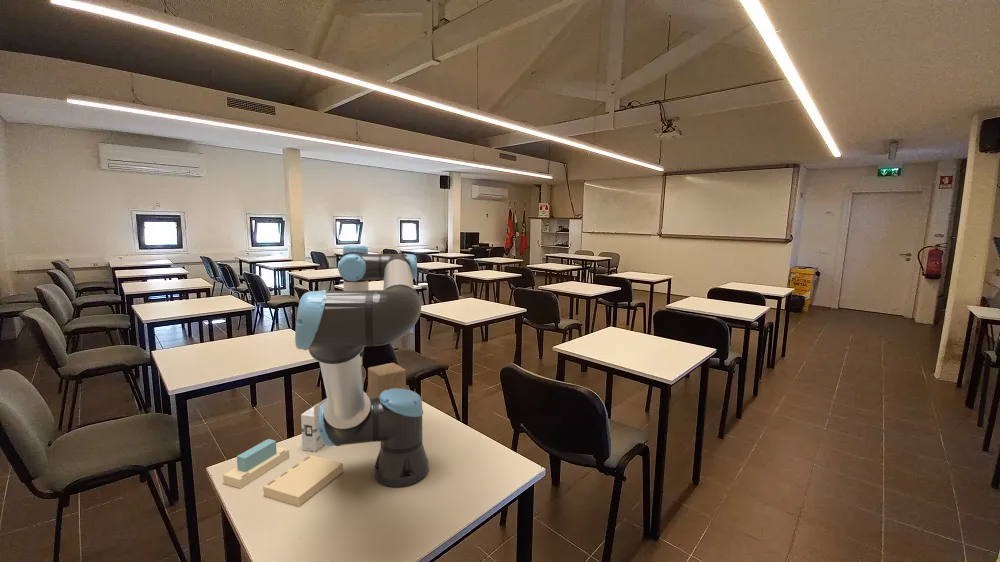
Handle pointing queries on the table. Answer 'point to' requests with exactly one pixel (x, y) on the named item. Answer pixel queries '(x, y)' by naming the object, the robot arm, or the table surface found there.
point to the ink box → (311, 429)
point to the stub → (255, 463)
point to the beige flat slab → (303, 480)
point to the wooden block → (385, 379)
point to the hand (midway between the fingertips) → (357, 365)
